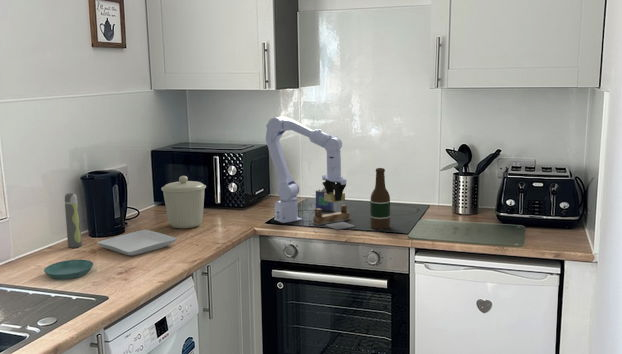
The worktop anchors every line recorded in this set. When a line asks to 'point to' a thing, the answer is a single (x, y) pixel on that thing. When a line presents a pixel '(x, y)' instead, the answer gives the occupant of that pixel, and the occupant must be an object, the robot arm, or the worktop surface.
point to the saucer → (68, 269)
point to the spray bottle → (72, 221)
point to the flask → (321, 203)
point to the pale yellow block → (332, 197)
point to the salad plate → (137, 242)
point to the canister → (184, 202)
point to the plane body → (331, 216)
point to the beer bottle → (380, 203)
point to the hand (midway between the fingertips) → (334, 199)
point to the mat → (340, 225)
